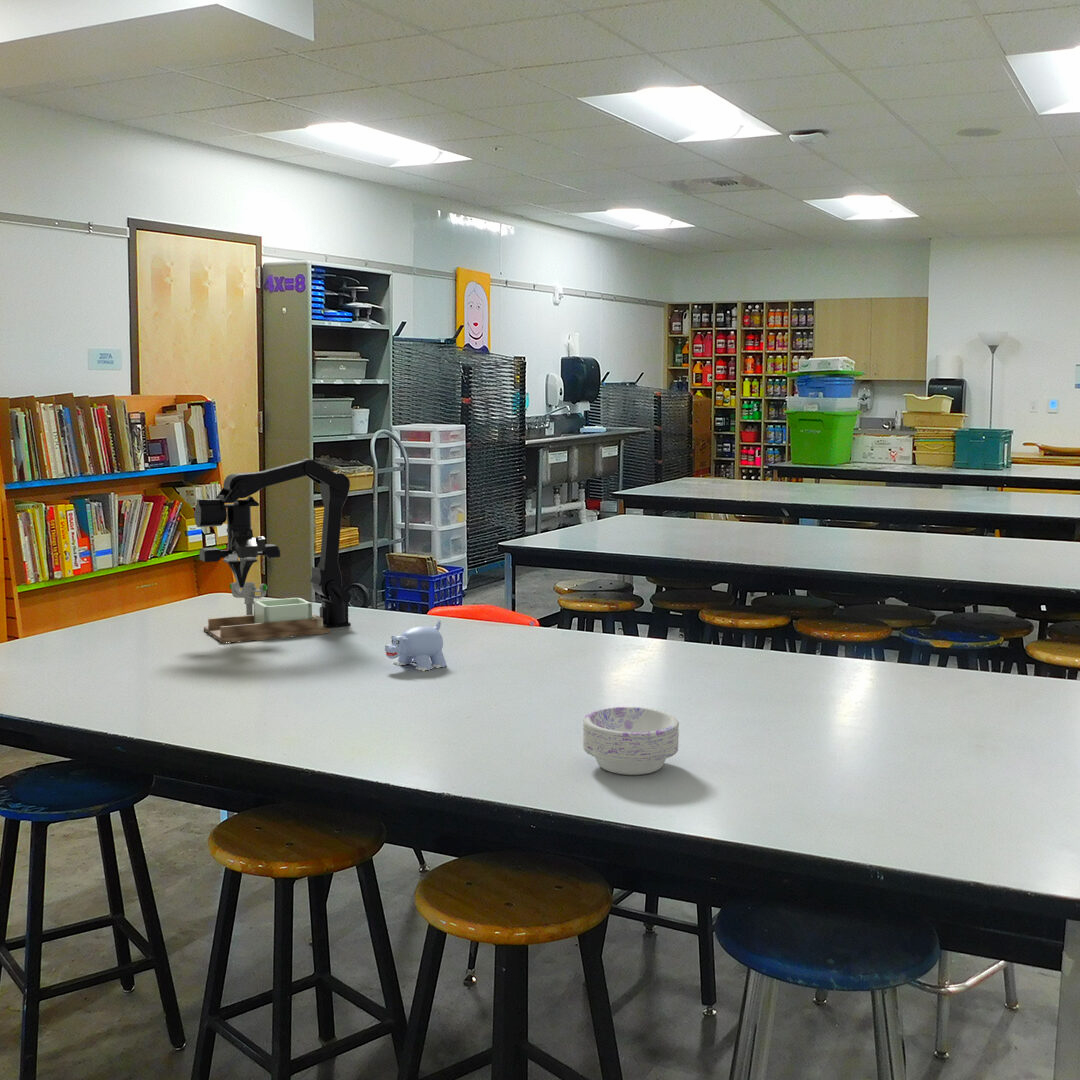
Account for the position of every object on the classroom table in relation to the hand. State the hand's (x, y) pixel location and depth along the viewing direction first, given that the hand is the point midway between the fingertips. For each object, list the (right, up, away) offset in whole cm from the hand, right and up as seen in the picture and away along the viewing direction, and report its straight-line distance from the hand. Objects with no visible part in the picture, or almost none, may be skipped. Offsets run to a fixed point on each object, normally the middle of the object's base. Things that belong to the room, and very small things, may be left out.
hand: (241, 587), depth 285 cm
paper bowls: (+89, -25, -102) cm, 137 cm away
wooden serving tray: (+6, -11, +4) cm, 13 cm away
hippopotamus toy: (+47, -16, -33) cm, 59 cm away
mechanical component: (-3, -10, +19) cm, 22 cm away
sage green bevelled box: (+9, -10, +6) cm, 15 cm away
